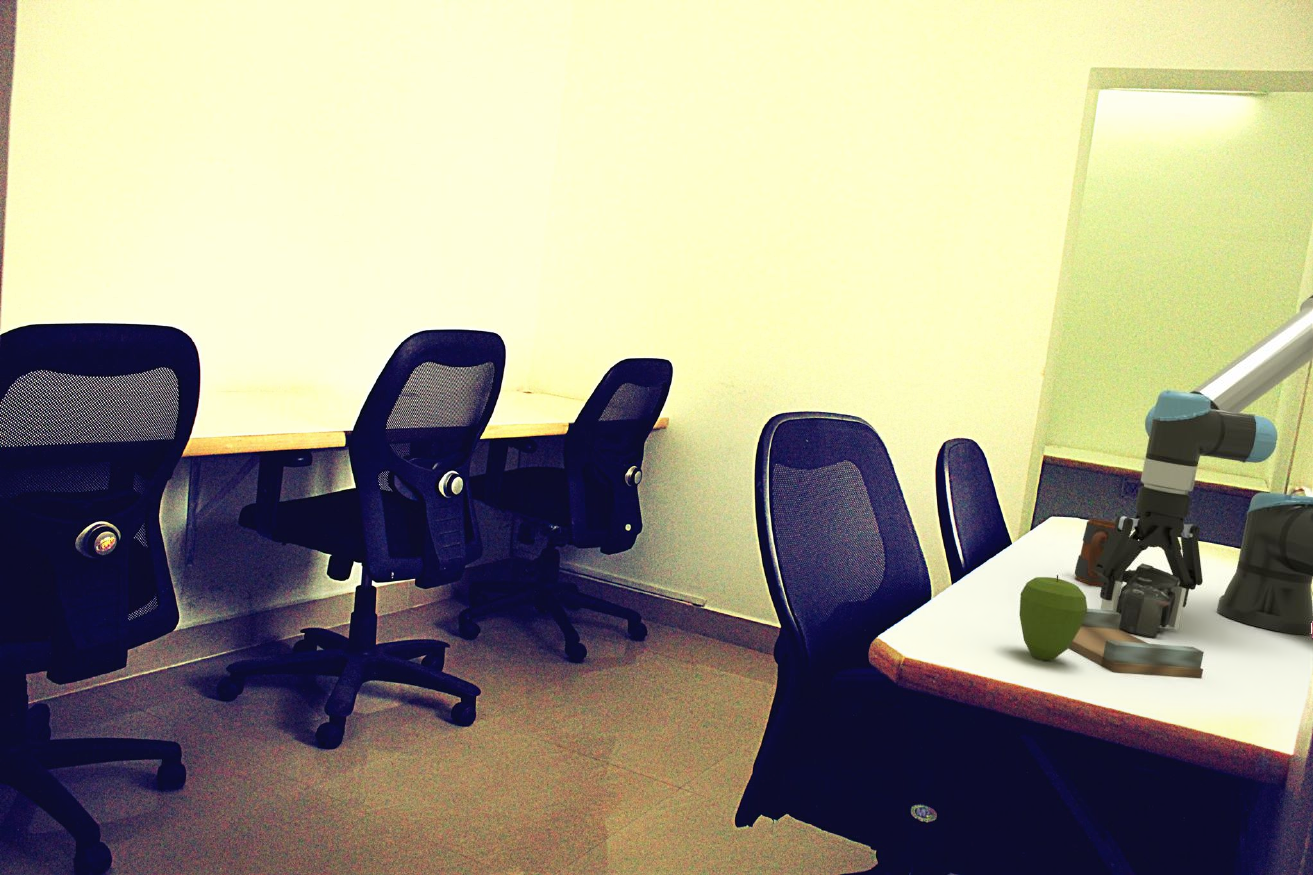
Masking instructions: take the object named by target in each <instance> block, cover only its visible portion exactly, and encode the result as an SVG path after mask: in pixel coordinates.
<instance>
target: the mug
mask: <svg viewBox="0 0 1313 875" xmlns="http://www.w3.org/2000/svg"><path fill="white" fill-rule="evenodd" d="M1115 524H1116V521H1115V522H1114V521H1109V520H1102V519H1095V518H1091V519H1089V518H1088V521H1087V522H1086V527H1085V530H1084V534H1083V538H1082V541H1083V542H1082V547H1081V550H1080V555H1078V557H1077V561H1076V564H1075V569H1074V575H1075V578H1076V580H1077V581H1080V582H1081V583H1084V584H1087V585H1090V586H1093V587H1099V588H1101V587H1102V582H1103V577H1102V576H1100V575H1099V574H1098V573H1096V572H1094V571H1093V567H1094V565H1095V563H1096V562H1097V560H1098V558H1099V556H1100V554H1101V553H1102V551H1103V549H1104V547H1105V545H1106V543H1107V542H1108V540H1109V538H1110V536H1111V534H1112V533H1113V531H1114V529H1115ZM1127 542H1128V541H1127ZM1127 542H1126V544H1127ZM1126 544H1125V545H1126ZM1122 576H1123V574H1122V575H1121V576H1120V577H1119V579H1118V580H1117V581H1119V582H1121V583H1122V585H1123V583H1124V582H1123V581H1122Z"/></svg>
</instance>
